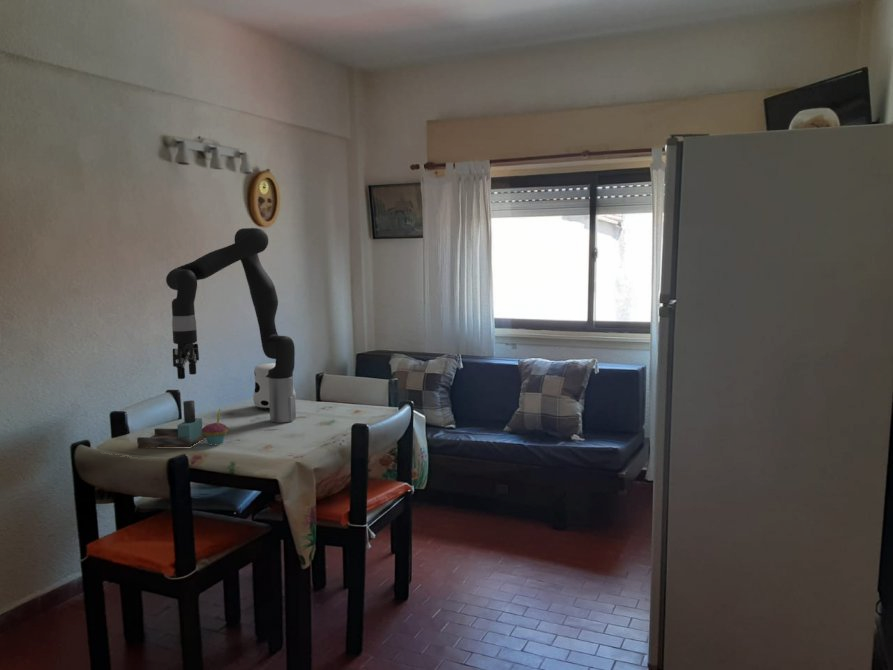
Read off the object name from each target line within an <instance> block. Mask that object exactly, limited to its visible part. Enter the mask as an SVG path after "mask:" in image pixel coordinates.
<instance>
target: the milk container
mask: <svg viewBox="0 0 893 670" xmlns="http://www.w3.org/2000/svg"><path fill="white" fill-rule="evenodd" d="M275 364H276V362H274V363H272V362H271V363H270V362H269V363H263V364H257V365H255V366H254V391H253V395H252V396H253V403H254V406H255V407H256V408H258V409H262V410H267V411H268V410H269V411H270V407H269V382H268V371H269V370H270V369H272V368H274V367H275ZM293 395H295V398H296V390H295V387H294V386H293Z"/></svg>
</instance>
